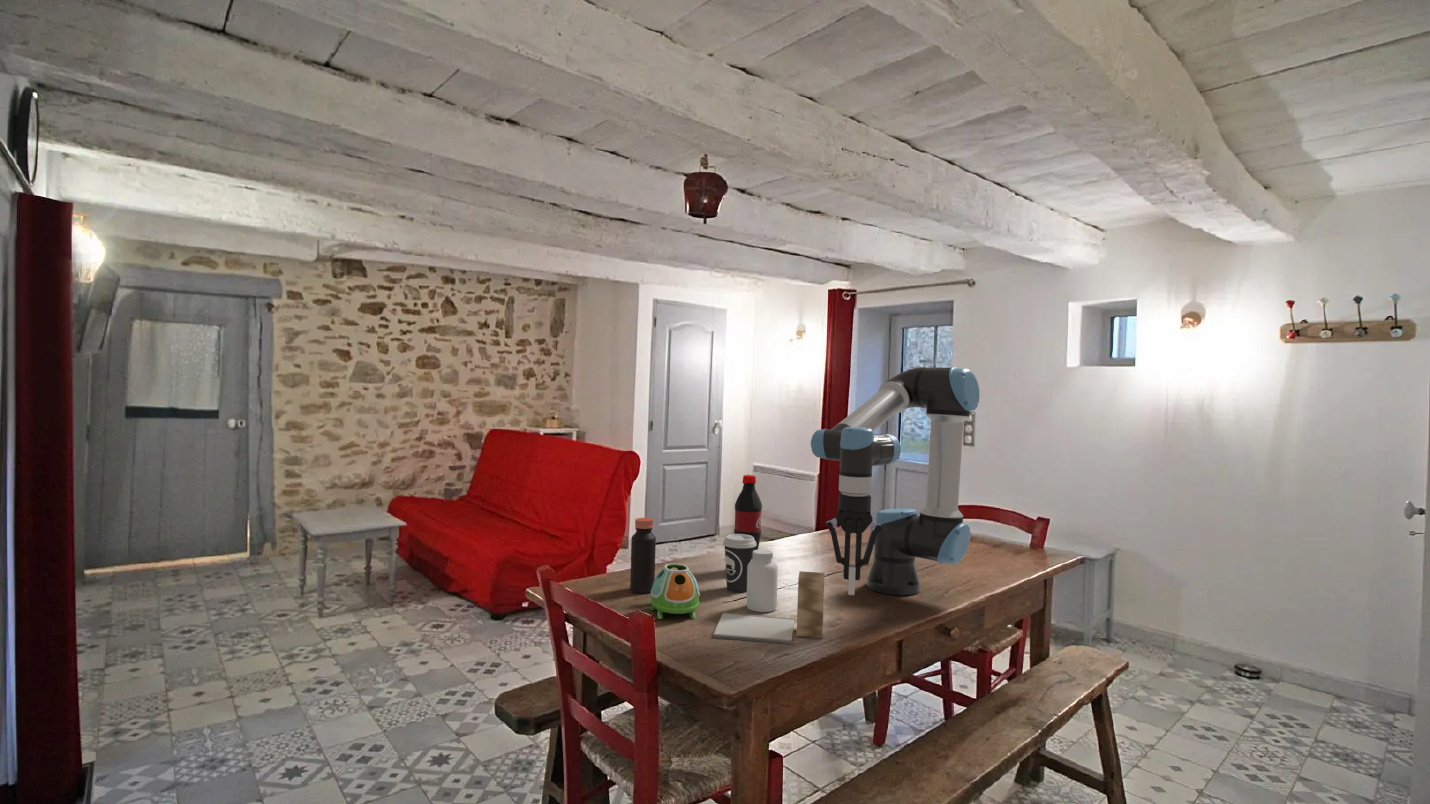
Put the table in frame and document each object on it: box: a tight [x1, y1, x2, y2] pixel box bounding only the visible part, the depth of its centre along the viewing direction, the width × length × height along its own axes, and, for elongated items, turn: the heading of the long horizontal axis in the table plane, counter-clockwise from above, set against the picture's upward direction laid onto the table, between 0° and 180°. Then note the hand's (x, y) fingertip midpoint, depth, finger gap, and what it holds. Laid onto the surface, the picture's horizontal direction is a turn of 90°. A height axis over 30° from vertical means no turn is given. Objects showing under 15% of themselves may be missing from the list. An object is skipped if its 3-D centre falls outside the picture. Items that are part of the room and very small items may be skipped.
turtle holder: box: [650, 563, 701, 620], centre depth 186 cm, size 12×18×12 cm
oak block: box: [796, 570, 825, 640], centre depth 172 cm, size 6×6×14 cm
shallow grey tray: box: [712, 612, 795, 645], centre depth 174 cm, size 18×16×1 cm
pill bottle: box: [746, 548, 779, 613], centre depth 190 cm, size 8×8×15 cm
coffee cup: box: [722, 533, 756, 594], centre depth 206 cm, size 10×10×15 cm
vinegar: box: [629, 517, 657, 595], centre depth 202 cm, size 7×7×20 cm
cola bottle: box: [733, 474, 763, 550], centre depth 225 cm, size 8×8×30 cm
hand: (851, 593), depth 170 cm, fingers closed
